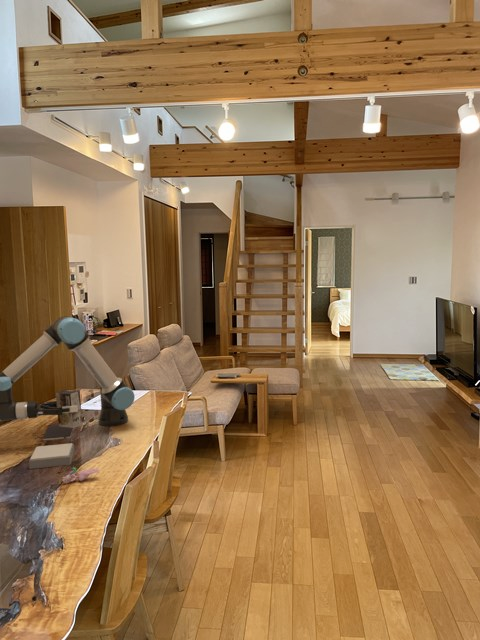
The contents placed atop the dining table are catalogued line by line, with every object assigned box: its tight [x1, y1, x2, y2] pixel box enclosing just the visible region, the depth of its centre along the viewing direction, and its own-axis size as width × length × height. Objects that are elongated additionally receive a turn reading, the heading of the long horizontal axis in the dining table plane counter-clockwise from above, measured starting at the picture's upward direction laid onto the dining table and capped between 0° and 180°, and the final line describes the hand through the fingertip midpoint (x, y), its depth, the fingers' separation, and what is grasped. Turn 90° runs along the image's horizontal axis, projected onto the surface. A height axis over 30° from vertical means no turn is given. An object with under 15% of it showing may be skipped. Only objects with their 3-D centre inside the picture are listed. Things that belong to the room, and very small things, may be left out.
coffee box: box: [55, 388, 83, 429], centre depth 235 cm, size 9×6×16 cm
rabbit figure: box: [58, 467, 100, 485], centre depth 196 cm, size 6×6×15 cm
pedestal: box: [28, 442, 75, 470], centre depth 218 cm, size 16×16×4 cm
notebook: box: [41, 424, 74, 442], centre depth 255 cm, size 13×2×21 cm
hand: (78, 405), depth 236 cm, fingers closed on coffee box, 10 cm apart
